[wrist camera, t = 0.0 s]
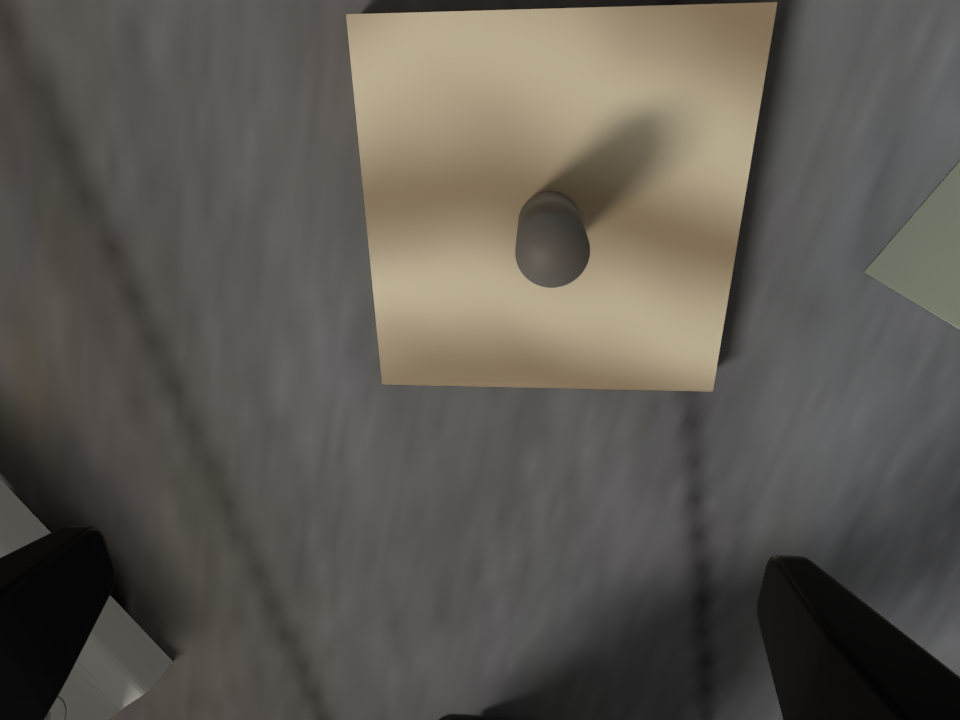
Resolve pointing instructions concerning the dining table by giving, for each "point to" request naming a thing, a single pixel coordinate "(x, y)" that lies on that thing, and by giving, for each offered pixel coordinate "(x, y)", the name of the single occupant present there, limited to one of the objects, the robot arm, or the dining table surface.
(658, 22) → the base
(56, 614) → the robot arm
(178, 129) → the dining table surface
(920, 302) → the block
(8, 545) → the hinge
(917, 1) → the dining table surface
